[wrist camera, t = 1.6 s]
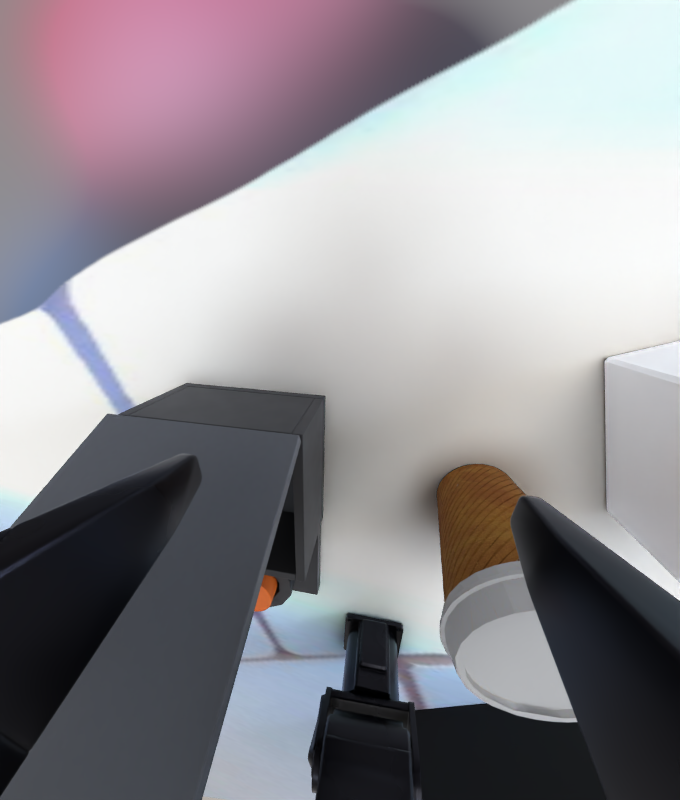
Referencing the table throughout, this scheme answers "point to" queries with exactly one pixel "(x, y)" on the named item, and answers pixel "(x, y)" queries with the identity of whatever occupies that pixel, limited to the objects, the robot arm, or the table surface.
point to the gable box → (645, 448)
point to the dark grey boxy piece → (269, 416)
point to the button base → (308, 586)
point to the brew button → (266, 593)
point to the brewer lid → (164, 617)
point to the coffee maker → (502, 757)
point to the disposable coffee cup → (493, 599)
